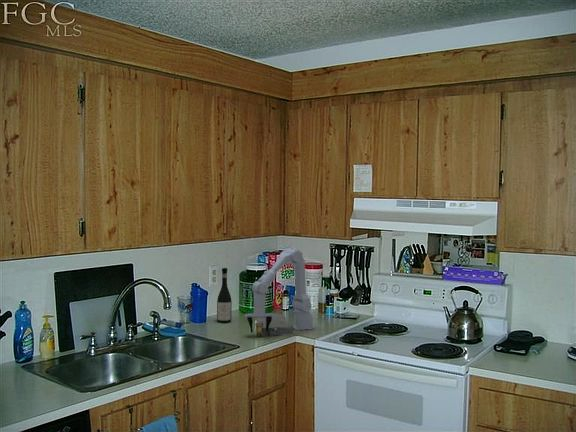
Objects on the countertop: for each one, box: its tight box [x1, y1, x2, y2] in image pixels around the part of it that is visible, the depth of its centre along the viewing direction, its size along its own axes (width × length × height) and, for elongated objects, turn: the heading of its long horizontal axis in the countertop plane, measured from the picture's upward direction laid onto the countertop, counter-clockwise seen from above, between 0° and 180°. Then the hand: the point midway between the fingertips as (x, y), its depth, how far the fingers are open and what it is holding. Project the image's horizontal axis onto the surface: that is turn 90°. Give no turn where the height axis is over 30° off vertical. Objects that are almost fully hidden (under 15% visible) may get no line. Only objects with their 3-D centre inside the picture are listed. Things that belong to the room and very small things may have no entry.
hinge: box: [255, 313, 288, 328], centre depth 292 cm, size 17×5×10 cm, turn 102°
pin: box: [254, 322, 263, 338], centre depth 281 cm, size 4×4×6 cm
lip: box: [262, 326, 294, 337], centre depth 284 cm, size 19×6×3 cm, turn 100°
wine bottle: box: [216, 267, 233, 324], centre depth 310 cm, size 8×8×30 cm
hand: (259, 331), depth 281 cm, fingers open, 7 cm apart
